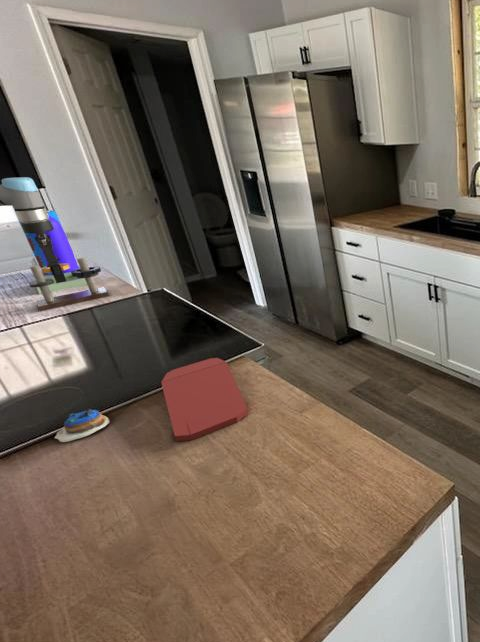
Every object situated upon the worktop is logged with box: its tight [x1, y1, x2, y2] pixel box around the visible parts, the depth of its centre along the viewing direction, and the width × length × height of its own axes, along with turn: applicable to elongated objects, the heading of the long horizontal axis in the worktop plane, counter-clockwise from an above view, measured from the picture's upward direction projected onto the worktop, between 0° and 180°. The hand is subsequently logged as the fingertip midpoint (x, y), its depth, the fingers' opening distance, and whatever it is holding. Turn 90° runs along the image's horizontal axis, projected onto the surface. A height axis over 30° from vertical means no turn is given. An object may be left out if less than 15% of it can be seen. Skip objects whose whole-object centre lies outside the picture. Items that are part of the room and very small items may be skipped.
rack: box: [28, 257, 110, 312], centre depth 141 cm, size 17×8×14 cm, turn 139°
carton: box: [160, 357, 250, 442], centre depth 90 cm, size 12×5×25 cm
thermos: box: [17, 210, 76, 276], centre depth 170 cm, size 11×11×25 cm
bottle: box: [33, 215, 80, 276], centre depth 164 cm, size 8×8×30 cm
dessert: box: [54, 408, 111, 443], centre depth 81 cm, size 8×7×6 cm
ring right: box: [71, 265, 102, 277], centre depth 144 cm, size 7×7×1 cm
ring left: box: [40, 263, 70, 274], centre depth 157 cm, size 7×7×1 cm
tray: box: [34, 272, 88, 295], centre depth 159 cm, size 15×13×3 cm
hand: (60, 279), depth 158 cm, fingers closed on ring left, 7 cm apart
